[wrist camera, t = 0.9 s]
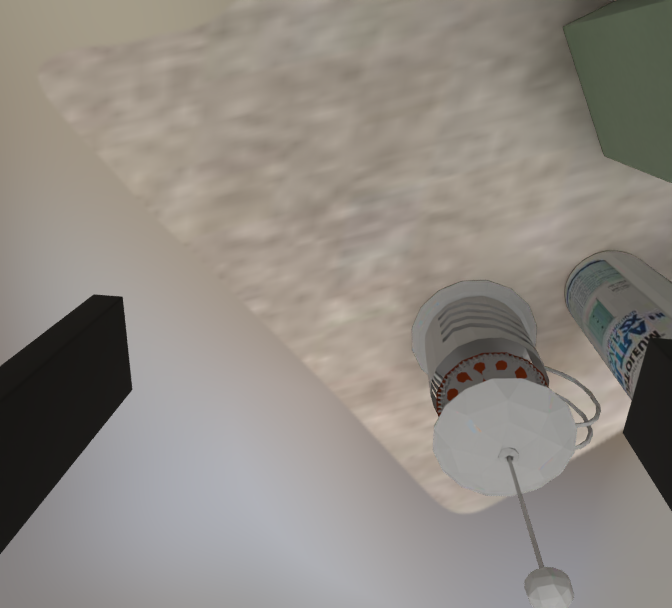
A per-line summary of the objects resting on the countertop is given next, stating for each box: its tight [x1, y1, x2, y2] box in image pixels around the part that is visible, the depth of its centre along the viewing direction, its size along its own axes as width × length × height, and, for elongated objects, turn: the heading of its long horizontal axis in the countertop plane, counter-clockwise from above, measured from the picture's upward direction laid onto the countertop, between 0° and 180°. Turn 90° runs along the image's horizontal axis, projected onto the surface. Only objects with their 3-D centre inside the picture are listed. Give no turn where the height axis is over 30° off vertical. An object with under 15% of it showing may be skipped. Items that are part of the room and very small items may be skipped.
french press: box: [412, 280, 601, 608], centre depth 34 cm, size 10×12×25 cm
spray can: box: [565, 251, 672, 400], centre depth 34 cm, size 6×6×20 cm
